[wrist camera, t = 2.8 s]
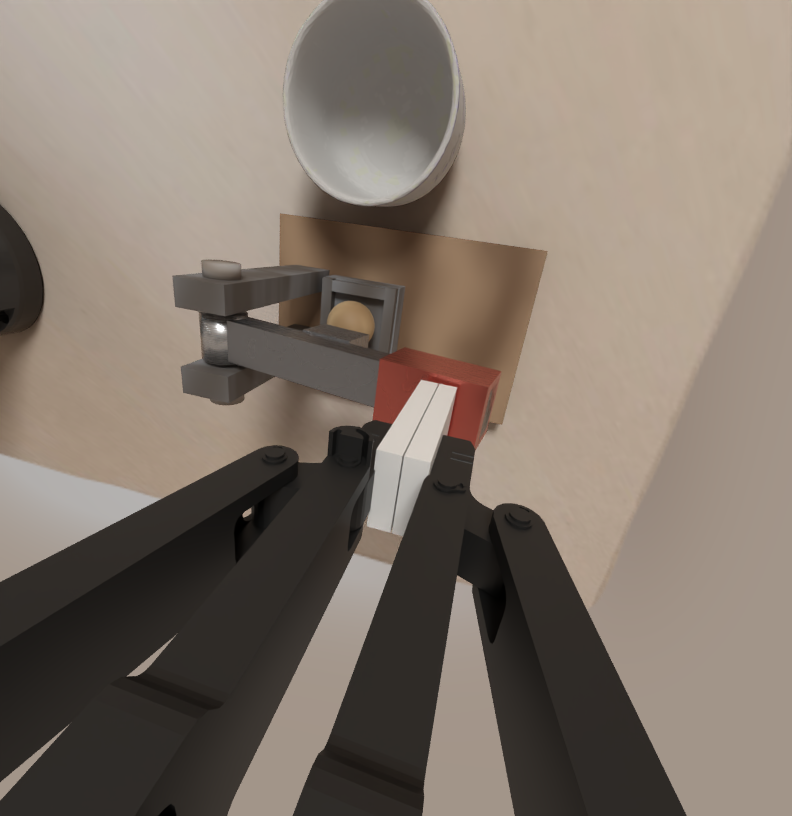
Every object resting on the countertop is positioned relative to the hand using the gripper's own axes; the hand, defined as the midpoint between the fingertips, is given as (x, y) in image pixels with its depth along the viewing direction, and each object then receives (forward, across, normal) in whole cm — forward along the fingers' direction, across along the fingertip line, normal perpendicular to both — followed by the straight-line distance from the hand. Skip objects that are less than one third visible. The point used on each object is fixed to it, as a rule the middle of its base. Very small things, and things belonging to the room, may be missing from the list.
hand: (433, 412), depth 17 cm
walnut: (+13, -9, 0) cm, 15 cm away
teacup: (+19, -9, +15) cm, 26 cm away
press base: (+19, -6, 0) cm, 20 cm away
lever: (+6, -6, 0) cm, 8 cm away
